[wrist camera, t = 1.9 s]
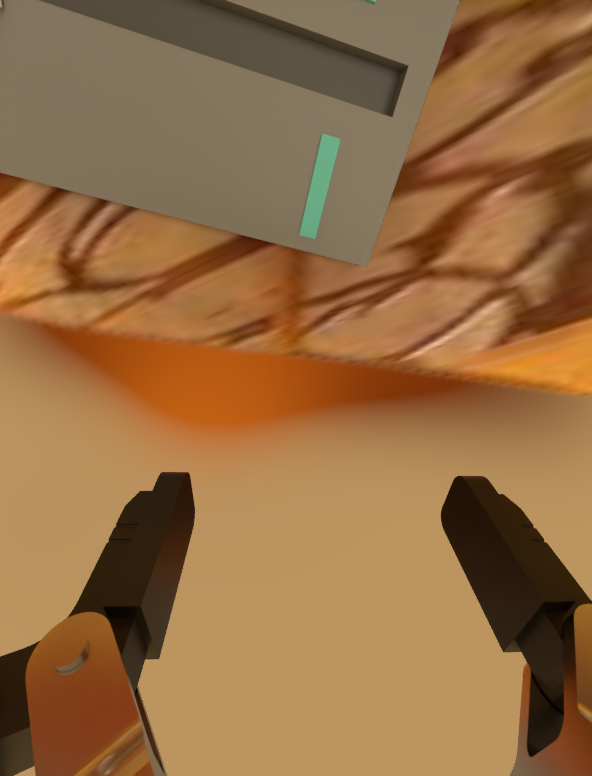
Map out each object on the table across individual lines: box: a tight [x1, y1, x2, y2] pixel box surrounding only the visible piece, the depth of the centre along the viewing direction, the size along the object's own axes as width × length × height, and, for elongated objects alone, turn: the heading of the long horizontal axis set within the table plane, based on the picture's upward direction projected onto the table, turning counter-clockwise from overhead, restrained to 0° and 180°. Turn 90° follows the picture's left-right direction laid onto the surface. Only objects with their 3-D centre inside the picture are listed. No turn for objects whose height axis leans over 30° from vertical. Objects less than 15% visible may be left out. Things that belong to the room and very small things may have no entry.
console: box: [0, 0, 460, 267], centre depth 19 cm, size 20×30×3 cm, turn 76°
